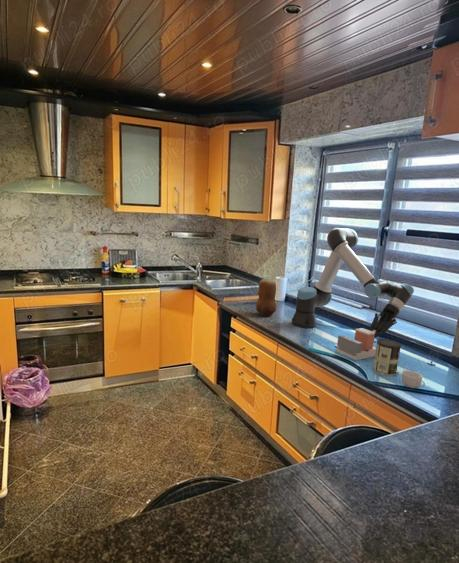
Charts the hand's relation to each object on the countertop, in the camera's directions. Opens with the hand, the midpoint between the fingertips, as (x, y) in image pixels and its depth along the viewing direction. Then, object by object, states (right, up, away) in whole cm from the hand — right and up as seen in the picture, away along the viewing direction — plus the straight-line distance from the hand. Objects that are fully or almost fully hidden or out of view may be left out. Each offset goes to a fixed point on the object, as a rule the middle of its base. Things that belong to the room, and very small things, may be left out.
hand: (368, 340), depth 199 cm
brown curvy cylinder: (-49, +8, +59) cm, 77 cm away
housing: (-5, -6, -1) cm, 8 cm away
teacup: (+4, -14, -39) cm, 41 cm away
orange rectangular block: (-4, -4, -1) cm, 5 cm away
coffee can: (-2, -11, -24) cm, 26 cm away
